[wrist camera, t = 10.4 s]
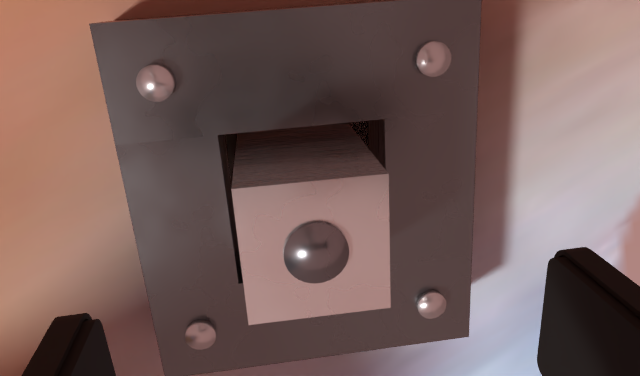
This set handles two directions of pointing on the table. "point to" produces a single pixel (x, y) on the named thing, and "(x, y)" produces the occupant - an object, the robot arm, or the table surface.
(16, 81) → the table surface
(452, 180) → the gray square socket plate
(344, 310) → the cube with chrome dome
